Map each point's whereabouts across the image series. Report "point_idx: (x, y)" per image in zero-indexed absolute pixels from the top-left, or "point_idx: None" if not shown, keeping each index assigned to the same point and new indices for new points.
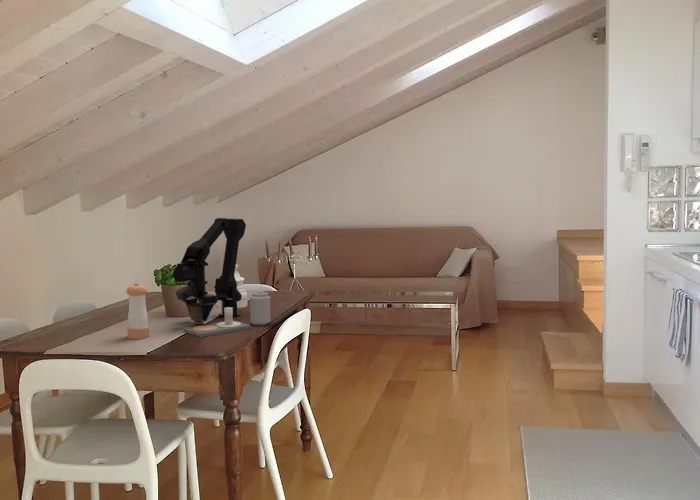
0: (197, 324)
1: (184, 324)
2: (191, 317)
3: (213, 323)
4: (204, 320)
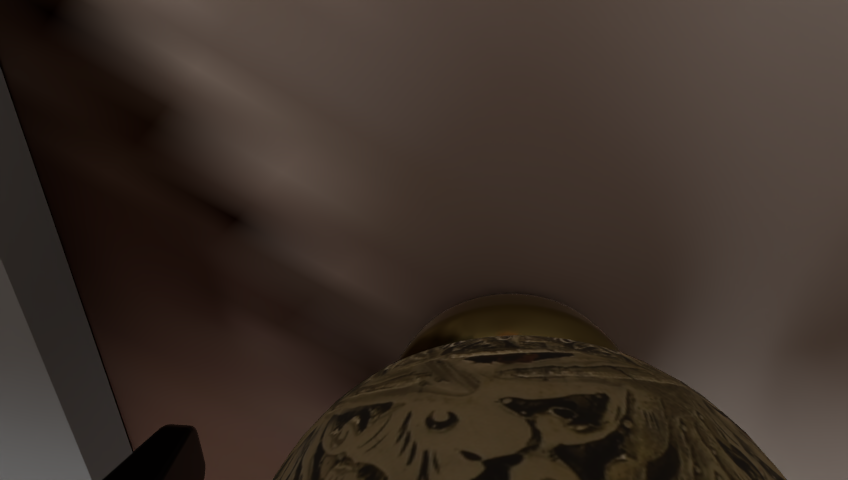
0: (436, 318)
1: (828, 168)
2: (529, 362)
3: (78, 474)
4: (154, 444)
